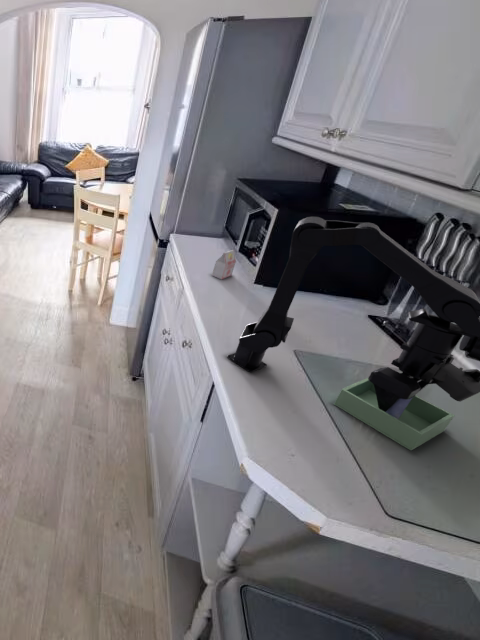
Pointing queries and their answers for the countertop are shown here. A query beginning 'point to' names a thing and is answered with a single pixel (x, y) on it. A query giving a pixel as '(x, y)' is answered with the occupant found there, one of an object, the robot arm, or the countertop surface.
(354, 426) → the countertop surface
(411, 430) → the bin
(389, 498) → the countertop surface
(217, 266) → the milk carton
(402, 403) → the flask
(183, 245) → the countertop surface
